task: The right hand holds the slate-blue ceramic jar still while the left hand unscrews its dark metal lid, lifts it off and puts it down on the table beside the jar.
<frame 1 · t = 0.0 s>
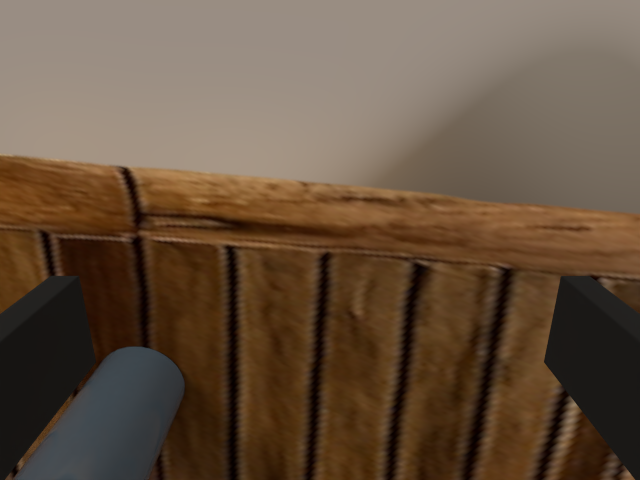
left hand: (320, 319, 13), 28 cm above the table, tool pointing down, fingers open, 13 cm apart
jar: (141, 383, 47), on the table
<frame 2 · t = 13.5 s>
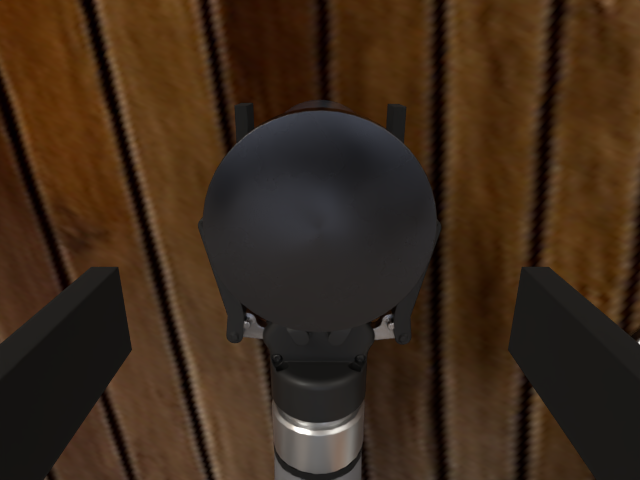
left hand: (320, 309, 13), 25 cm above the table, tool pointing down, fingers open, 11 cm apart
lid: (319, 228, 20), point 18 cm above the table, screwed on, not yet turned
jar: (319, 158, 37), on the table, touching right hand
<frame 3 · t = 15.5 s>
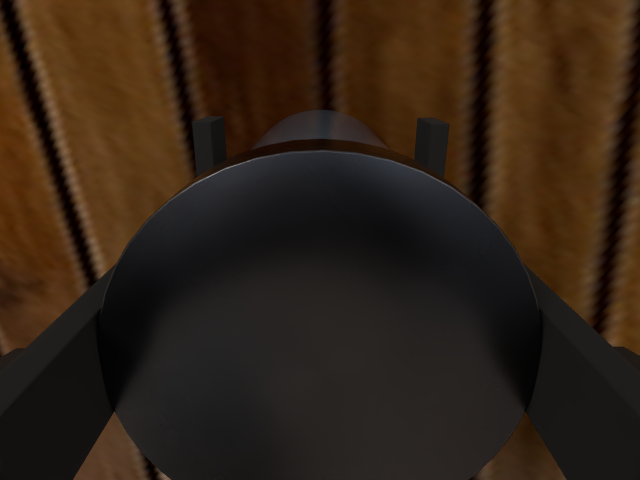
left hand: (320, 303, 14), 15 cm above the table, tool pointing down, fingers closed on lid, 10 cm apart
lid: (319, 361, 11), point 18 cm above the table, screwed on, not yet turned, touching left hand
jar: (320, 187, 28), on the table, touching right hand
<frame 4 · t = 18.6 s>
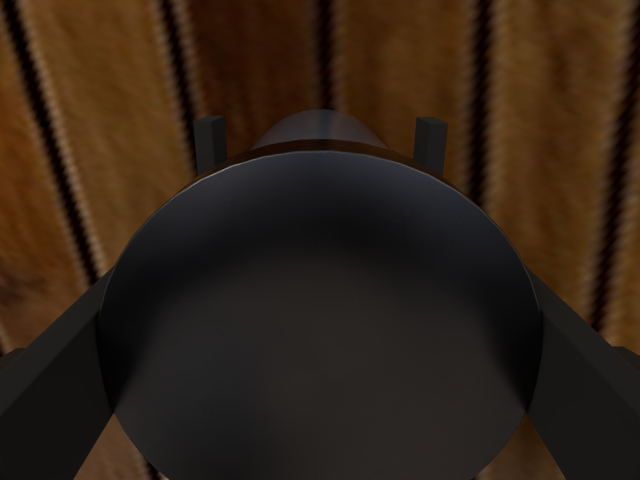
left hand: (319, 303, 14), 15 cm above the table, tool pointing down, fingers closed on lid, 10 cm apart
lid: (319, 362, 11), point 18 cm above the table, turned 73° so far, risen 0.2 cm, still on its thread, touching left hand
jar: (319, 186, 28), on the table, touching right hand
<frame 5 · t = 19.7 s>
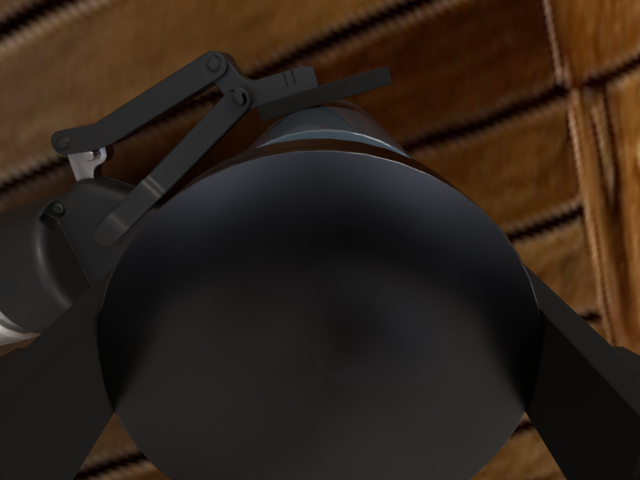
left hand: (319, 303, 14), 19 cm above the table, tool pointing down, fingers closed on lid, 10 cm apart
right hand: (406, 168, 24), fingers closed on jar, 9 cm apart
lid: (319, 361, 11), point 22 cm above the table, off its thread, touching left hand
jar: (324, 166, 31), on the table, touching right hand
when the left hand's fingers open (0 cm above the table, at t = 24.9 s): lid drops 2 cm, point 1 cm above the table.
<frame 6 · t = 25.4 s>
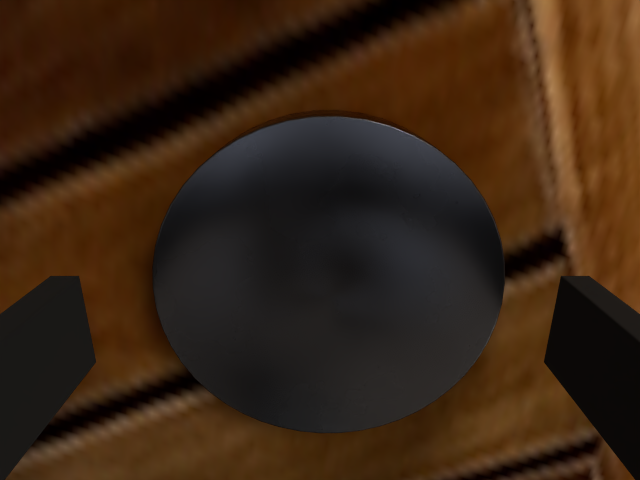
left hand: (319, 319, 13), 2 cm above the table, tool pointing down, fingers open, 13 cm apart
lid: (328, 290, 14), point 1 cm above the table, off its thread
when the right hand's fingers open (7 cm above the table, at t = 25.9 s): jar stays where it is, on the table.
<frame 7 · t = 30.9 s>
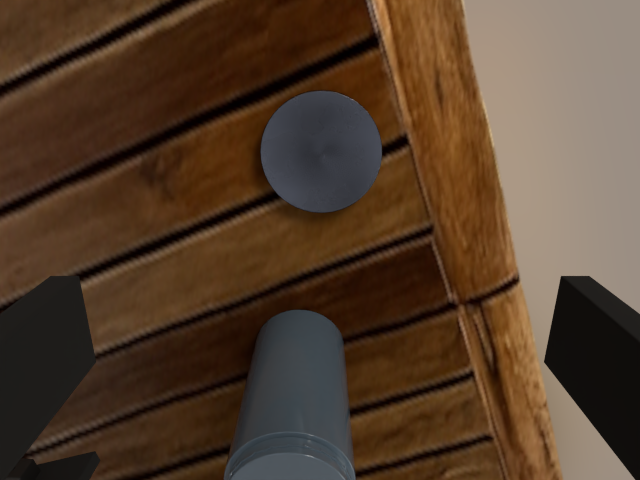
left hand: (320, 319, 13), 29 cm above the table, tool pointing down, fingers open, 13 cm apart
lid: (321, 153, 38), point 1 cm above the table, off its thread
jar: (299, 348, 46), on the table
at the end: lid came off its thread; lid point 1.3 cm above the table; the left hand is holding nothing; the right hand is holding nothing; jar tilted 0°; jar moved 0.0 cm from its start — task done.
